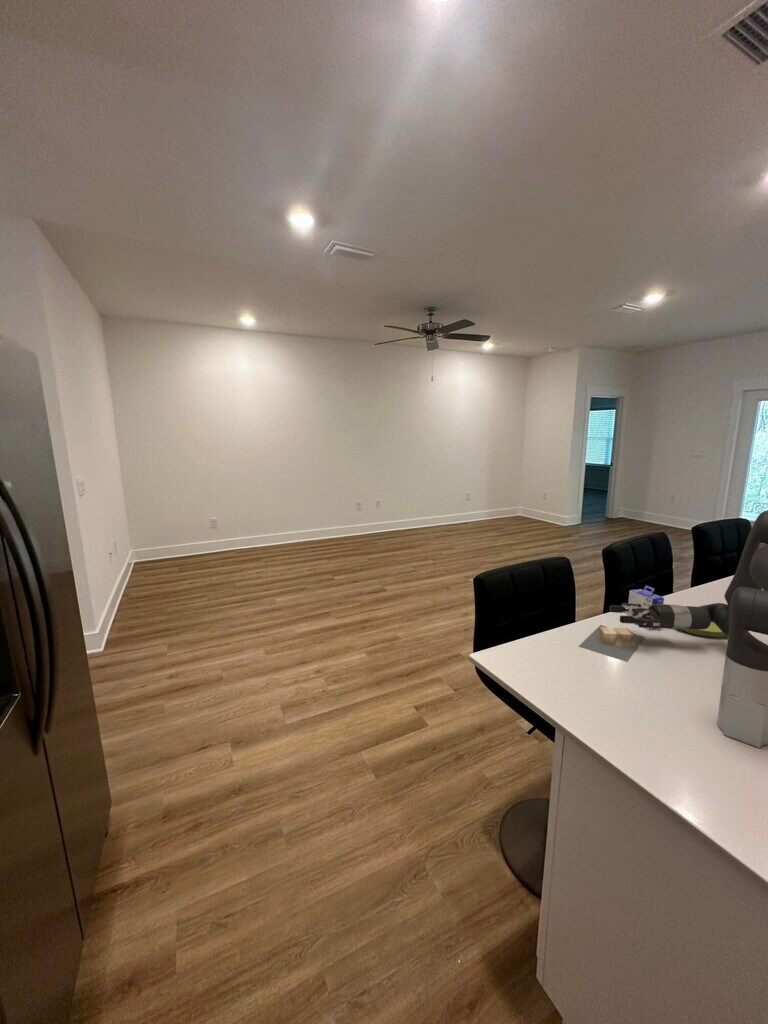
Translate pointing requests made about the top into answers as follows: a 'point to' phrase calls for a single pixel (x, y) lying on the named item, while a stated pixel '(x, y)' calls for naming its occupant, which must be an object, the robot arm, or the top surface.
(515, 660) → the top surface
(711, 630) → the saucer
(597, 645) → the rubber mat
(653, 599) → the ink cartridge box
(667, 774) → the top surface
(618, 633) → the beech block
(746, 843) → the top surface
